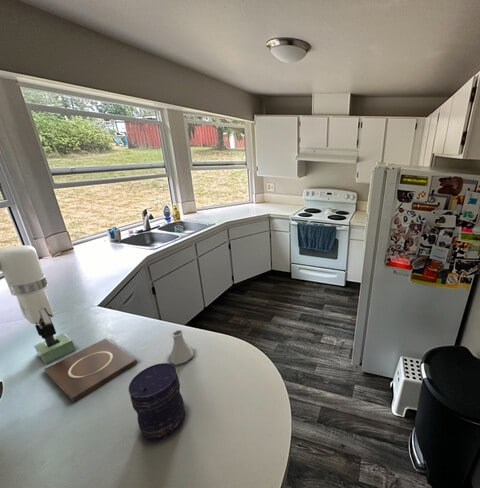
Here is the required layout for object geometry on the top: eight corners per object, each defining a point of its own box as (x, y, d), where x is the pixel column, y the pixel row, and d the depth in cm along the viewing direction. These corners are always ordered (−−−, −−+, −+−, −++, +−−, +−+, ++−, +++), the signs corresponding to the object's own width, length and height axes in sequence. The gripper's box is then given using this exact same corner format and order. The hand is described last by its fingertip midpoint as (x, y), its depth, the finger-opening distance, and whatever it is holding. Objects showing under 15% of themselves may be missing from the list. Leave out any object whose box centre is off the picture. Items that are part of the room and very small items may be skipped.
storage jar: (158, 403, 70) (147, 361, 65) (193, 405, 70) (185, 363, 64) (131, 441, 60) (116, 396, 55) (171, 444, 60) (160, 399, 55)
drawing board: (73, 402, 69) (71, 397, 69) (45, 372, 78) (43, 368, 77) (137, 362, 83) (136, 358, 82) (107, 341, 91) (105, 337, 91)
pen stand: (46, 363, 81) (42, 354, 80) (38, 355, 84) (33, 345, 83) (75, 349, 87) (71, 340, 86) (66, 342, 90) (63, 333, 89)
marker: (50, 353, 83) (38, 323, 80) (48, 350, 84) (36, 321, 80) (59, 349, 85) (48, 319, 81) (56, 346, 86) (45, 317, 82)
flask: (189, 345, 90) (185, 323, 87) (196, 357, 86) (192, 333, 82) (167, 356, 86) (161, 332, 82) (173, 368, 81) (167, 343, 77)
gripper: (1, 283, 77) (22, 332, 83) (19, 298, 70) (40, 350, 76) (36, 274, 83) (53, 320, 89) (56, 287, 76) (73, 336, 82)
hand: (47, 334), depth 83 cm, fingers closed on marker, 2 cm apart
